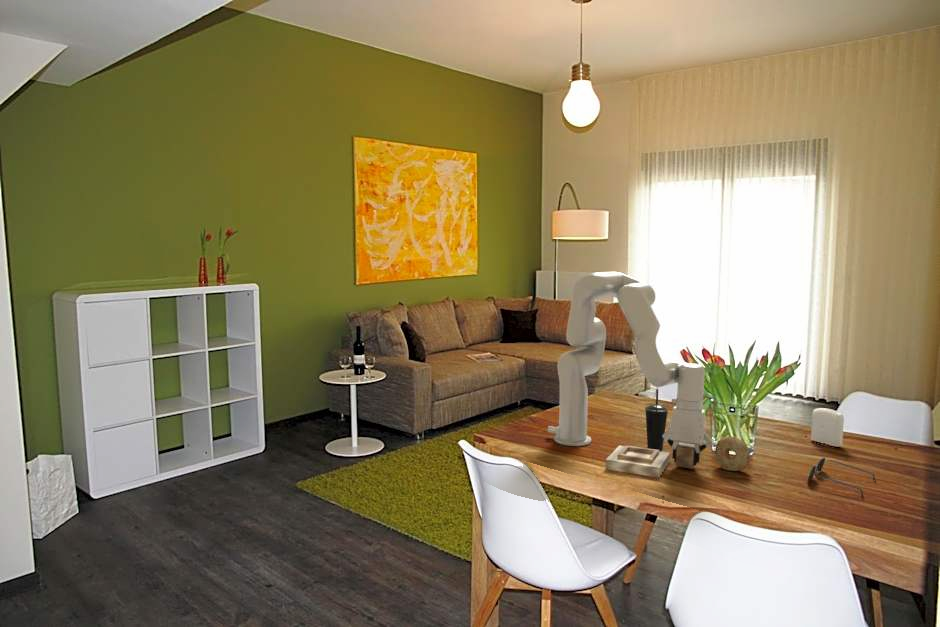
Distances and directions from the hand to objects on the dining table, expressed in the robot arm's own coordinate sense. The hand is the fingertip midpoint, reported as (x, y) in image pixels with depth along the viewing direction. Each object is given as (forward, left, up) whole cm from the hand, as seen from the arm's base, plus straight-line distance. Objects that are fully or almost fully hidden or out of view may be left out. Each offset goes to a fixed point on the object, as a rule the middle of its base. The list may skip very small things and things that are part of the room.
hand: (685, 462), depth 210 cm
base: (-13, -4, -2) cm, 14 cm away
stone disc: (+13, +5, -2) cm, 14 cm away
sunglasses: (+42, +8, -3) cm, 43 cm away
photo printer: (+39, +48, -2) cm, 62 cm away
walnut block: (0, 0, -1) cm, 1 cm away
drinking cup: (-12, +16, -2) cm, 20 cm away
